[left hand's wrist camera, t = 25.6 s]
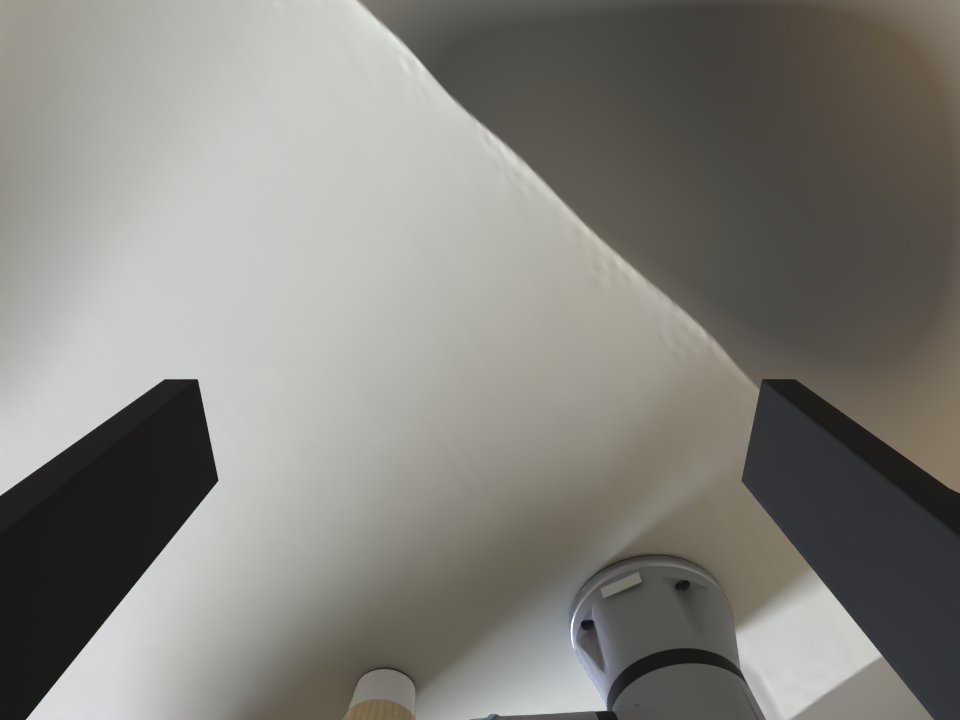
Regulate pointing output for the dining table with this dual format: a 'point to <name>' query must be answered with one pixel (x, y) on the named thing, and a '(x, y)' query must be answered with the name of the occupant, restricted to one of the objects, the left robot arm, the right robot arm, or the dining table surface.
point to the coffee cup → (383, 697)
